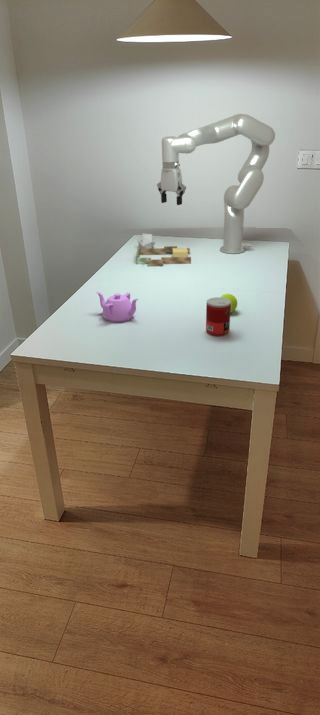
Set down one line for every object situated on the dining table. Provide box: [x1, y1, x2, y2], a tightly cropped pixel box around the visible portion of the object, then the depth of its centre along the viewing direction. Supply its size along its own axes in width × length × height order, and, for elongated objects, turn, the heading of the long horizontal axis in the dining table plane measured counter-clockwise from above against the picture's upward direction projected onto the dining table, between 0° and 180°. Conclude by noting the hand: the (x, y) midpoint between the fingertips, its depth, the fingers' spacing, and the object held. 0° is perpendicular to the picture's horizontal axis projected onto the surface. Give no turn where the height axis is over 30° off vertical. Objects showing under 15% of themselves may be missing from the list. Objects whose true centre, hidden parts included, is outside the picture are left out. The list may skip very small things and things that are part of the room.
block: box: [172, 247, 189, 257], centre depth 250 cm, size 7×7×4 cm
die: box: [136, 233, 156, 249], centre depth 266 cm, size 8×9×10 cm
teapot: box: [95, 291, 139, 323], centre depth 185 cm, size 12×14×9 cm
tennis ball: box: [219, 293, 238, 314], centre depth 188 cm, size 7×7×7 cm
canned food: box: [205, 296, 231, 337], centre depth 172 cm, size 8×8×11 cm
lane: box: [135, 245, 192, 267], centre depth 250 cm, size 26×23×4 cm
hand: (171, 203), depth 245 cm, fingers open, 9 cm apart
